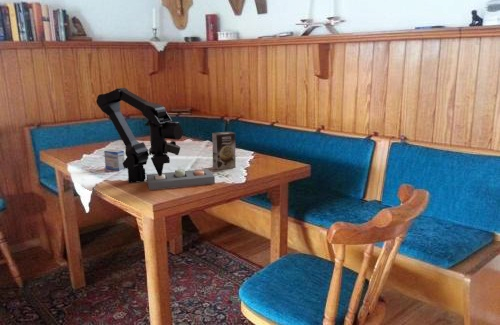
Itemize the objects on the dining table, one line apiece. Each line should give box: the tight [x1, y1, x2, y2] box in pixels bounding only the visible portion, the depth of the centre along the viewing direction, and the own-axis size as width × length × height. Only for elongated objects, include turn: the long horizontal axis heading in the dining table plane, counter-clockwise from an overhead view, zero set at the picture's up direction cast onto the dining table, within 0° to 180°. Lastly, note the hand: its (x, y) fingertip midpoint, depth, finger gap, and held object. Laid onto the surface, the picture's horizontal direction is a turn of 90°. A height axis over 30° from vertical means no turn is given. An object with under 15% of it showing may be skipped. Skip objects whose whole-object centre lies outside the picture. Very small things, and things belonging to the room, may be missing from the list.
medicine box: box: [103, 149, 126, 172], centre depth 195 cm, size 8×4×9 cm, turn 68°
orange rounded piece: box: [195, 171, 204, 176], centre depth 177 cm, size 4×4×3 cm
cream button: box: [155, 174, 165, 180], centre depth 172 cm, size 4×4×3 cm
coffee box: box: [211, 131, 236, 171], centre depth 196 cm, size 9×6×16 cm
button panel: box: [145, 168, 216, 191], centre depth 175 cm, size 26×12×3 cm, turn 108°
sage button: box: [174, 169, 186, 178], centre depth 174 cm, size 4×4×3 cm
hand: (160, 175), depth 172 cm, fingers closed, pressing on cream button
